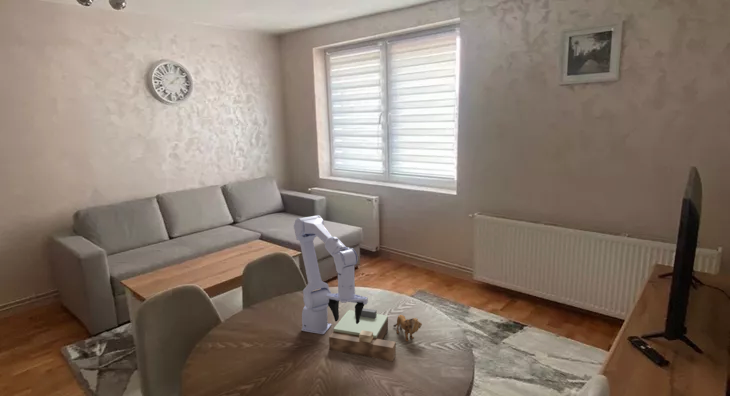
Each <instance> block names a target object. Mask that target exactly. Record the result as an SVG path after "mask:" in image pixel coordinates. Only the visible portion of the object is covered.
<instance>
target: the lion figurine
mask: <svg viewBox="0 0 730 396" xmlns="http://www.w3.org/2000/svg"><path fill="white" fill-rule="evenodd" d="M422 325H423V324H422V322H420V321H419V320H418V318H417V317H415V318H413V317H412V318H409V319H406V316H404V315H403V314H399V315H398V316H397V319H396V324H394V325H393V327H394V328H395V327H396V335H397V334H398V335H399V334H400V330H399V329H401V330H402V329H403V330H404V334H405V341H406V342H409V341H410V340H409V338H410V339H412V340H413V339H414V336H413V334H415V333H417V332H418V331H419V329H421V327H422Z"/></svg>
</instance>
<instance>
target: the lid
mask: <svg viewBox="0 0 730 396" xmlns="http://www.w3.org/2000/svg"><path fill="white" fill-rule="evenodd" d="M377 312H378V311H377V309H371V308H364V307H363V309H362V312H361V316H360V322H359V323H358V324H356V311H355V309H354V310H352V309H348V310H347V311H346V313H345V314H344V315H342V317H341V319H340V320H339V321H337V323H336V325H335V326H334V327H333V330H332V332H333V331H335V332H341V333H347V334H353V335H359V334H360V332H361V331H362V330H364V331H370V332H373V338H377V336H378V334H379V333H380V331H381V329H382V327H383V326H384V324H385V322H386V320H387V319H388V320H389V315H386V314H380V313H377Z"/></svg>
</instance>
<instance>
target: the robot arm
mask: <svg viewBox="0 0 730 396" xmlns="http://www.w3.org/2000/svg"><path fill="white" fill-rule="evenodd" d="M324 221H325V220H324V219H323V218H322V216H321V215H319V214H316V215H312V216H305V217H297V218H296V219H295V220H294V223H293V229H294V234H295V237H296V240H297V241H298V242H299V244H300V249H301V250H300V251H301V253H302V255H301V256H302V259H303V264H304V268H305V273H306V278H307V285H306V286H305V287H304V288H303V290H302V293H303V298H302V299H303V304H304V307H303V308H302V312H301V325H302V326H301V329H300V330H301V331H303V332H308V333H314V334H318V335H325V334H326V333H327V331H328V330H329V329H330V328H331V326H332V323H328V321H329V319H328V317H329V315H328V308H329V309H330V310H331V312H332V315H333V318H334V322H339V321H338V320H339V319H340V314H339V313H340V312H339V305H340V303H344V304H345V303H354V304H355V303H356V304H355V305H354V311H356V324H358V323H359V322H360V316H361V312H362V309H363V308H364V307H365V305H367V304H368V303H369V299H368V296H363V295H359V294H356V288H355V287H356V286H355V283H356V282H355V281H356V280H355V265H357V263H358V261H359V257H358V253H357V251H356V250H355V249H354V248H353V247H347V246H346V245H345V244H344V243H343V242H342V241H341V239H339V237H338V236H332V233H330V231H328V229H327V228H326V227H325V222H324ZM316 237H318V239H319V240H321V241H322V242H323V243H324V248H325V250H326V251H327V252H328V254H330V256H332V258H333V262H334V263H333V264H334V265H335V270H336V272H337V293H334V292H333V293H332V291H331V290H330V287H329V284H328V283H327V282H324V281H323V280H322V277H321V272H320V267H319V262H318V257H317V253H316V248H315V244H314V240H315V238H316Z"/></svg>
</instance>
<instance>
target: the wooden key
mask: <svg viewBox="0 0 730 396" xmlns="http://www.w3.org/2000/svg"><path fill="white" fill-rule="evenodd" d="M372 339H373V332H370V331H364V330H362V331H361V332H360V334H359V341H362V342H368V343H371V341H372Z"/></svg>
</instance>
